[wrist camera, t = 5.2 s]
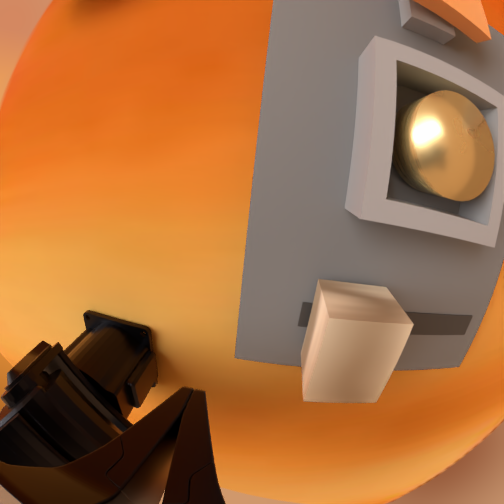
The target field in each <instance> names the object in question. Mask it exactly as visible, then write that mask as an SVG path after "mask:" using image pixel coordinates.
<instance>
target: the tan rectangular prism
mask: <svg viewBox="0 0 504 504" xmlns="http://www.w3.org/2000/svg"><path fill="white" fill-rule="evenodd" d="M413 325H414V324H413V323H412V321H411V320H410V318H409V317H408V316H407V314H406V313H405V311H404V310H403V309H402V307H401V306H400V305H399V303H398V302H397V301H396V299H395V298H394V297H393V295H392V294H391V293H390V291H389V290H388V289H387V288H386V287H382V286H374V285H365V284H357V283H348V282H340V281H332V280H324V279H318V282H317V287H316V291H315V296H314V301H313V305H312V309H311V314H310V318H309V322H308V326H307V330H306V334H305V338H304V342H303V346H302V350H301V368H302V387H303V401H307V402H327V403H376V402H377V400H378V398H379V396H380V395H381V393H382V391H383V389H384V387H385V385H386V384H387V382H388V380H389V378H390V376H391V374H392V372H393V370H394V368H395V366H396V364H397V362H398V359H399V357H400V355H401V353H402V351H403V349H404V346H405V344H406V342H407V339H408V337H409V335H410V332H411V330H412V327H413Z"/></svg>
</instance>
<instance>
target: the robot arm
mask: <svg viewBox="0 0 504 504" xmlns="http://www.w3.org/2000/svg"><path fill="white" fill-rule="evenodd" d="M83 316H84V321H85V326H86V330H85V331H84V332H83V333H82V334H81V335H80V336H79V337H78V338H77V339H76V340H75V341H74V342H73V343H72V344H71V345H69V346H68V347H67V348H66V349H65V350H64V351H63V347H62V346H61V345H60V343H59V342H57V343H56V344H55V345H53V346H51V345H49V344H48V343H46V342H45V341H42V342H40V343H39V344H38V345H37V346H36V347H35V348H34V349H33V350H31V351H30V352H29V353H28V354H27V355H26V356H25V357H24V358H23V359H22V360H21V361H19V362H18V363H17V364H16V365H15V366H14V367H13V368H12V369H11V370H10V371H9V372H8V373H7V386H6V387H5V390H6V391H5V392H4V394H3V395H2V396H1V399H2V401H3V402H4V403H5V404H6V405H5V406H4V407H3V409H2V411H1V412H0V504H159V502H160V500H161V497H162V495H163V493H164V490H165V493H164V498H163V502H162V504H225V501H224V498H223V496H222V493H221V489H220V486H219V483H218V479H217V474H216V468H215V463H214V456H213V449H212V442H211V435H210V427H209V419H208V411H207V402H206V393H205V391H203V390H198V389H195V390H194V389H193V388H189V387H182V388H180V389H179V390H178V391H177V392H175V393H174V394H173V395H172V396H170V397H169V398H168V399H167V400H165V401H164V402H163V403H162V404H160V405H159V406H158V407H156V408H155V409H154V410H152V411H151V412H150V413H149V414H147V415H146V416H145V417H143V418H142V419H141V420H139V421H138V422H137V423H135V424H134V425H133V424H132V423H130V422H129V421H128V420H127V418H128V416H129V414H130V413H131V411H132V409H133V407H135V408H139V407H141V405H142V403H143V401H144V400H145V398H146V396H147V394H148V392H149V391H150V389H151V387H155V386H156V384H157V376H158V372H157V364H156V357H155V353H154V352H153V347H152V338H151V331H150V329H149V328H148V327H146V326H143V325H139V324H135V323H131V322H127V321H124V320H120V319H116V318H113V317H109V316H106V315H103V314H99V313H96V312H93V311H90V310H87V311H86V312H85V313H84V314H83ZM143 332H145V333H146V334H145V333H143Z"/></svg>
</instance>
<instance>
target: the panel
mask: <svg viewBox="0 0 504 504" xmlns="http://www.w3.org/2000/svg"><path fill="white" fill-rule="evenodd" d="M488 27H489V31H490V35H491V40H487V41H483V42H479V43H476V42H474V41H473V40H472V39H471V38H469V37H468V36H467V35H465V34H464V33H463V32H461V31H460V30H459V29H457V28H456V27H455V26H453V25H452V24H450V23H449V22H447V21H446V20H444V19H443V18H441V17H440V16H438V15H437V14H435V13H434V12H432V11H431V10H429V9H427V8H426V7H424V6H422V5H420V4H419V3H417V2H415V1H413V0H274V1H273V9H272V17H271V25H270V33H269V42H268V50H267V59H266V67H265V76H264V84H263V93H262V102H261V110H260V119H259V128H258V137H257V146H256V155H255V164H254V174H253V183H252V192H251V201H250V211H249V220H248V230H247V239H246V249H245V259H244V269H243V278H242V288H241V298H240V308H239V318H238V329H237V339H236V349H235V358H237V359H243V360H250V361H257V362H264V363H272V364H281V365H290V366H300V367H301V350H302V346H303V342H304V338H305V334H306V330H307V326H308V322H309V318H310V314H311V309H312V305H313V301H314V296H315V291H316V287H317V282H318V279H324V280H332V281H340V282H348V283H357V284H365V285H374V286H382V287H386V288H387V289H388V290H389V291H390V293H391V294H392V295H393V297H394V298H395V299H396V301H397V302H398V303H399V305H400V306H401V307H402V309H403V310H404V311H405V313H406V314H407V316H408V317H409V318H410V320H411V321H412V323H413V324H414V325H413V327H412V330H411V332H410V335H409V337H408V339H407V342H406V344H405V346H404V349H403V351H402V353H401V355H400V357H399V359H398V362H397V364H396V366H395V368H394V370H424V369H440V368H453V367H459V366H460V364H461V362H462V361H463V359H464V357H465V355H466V353H467V351H468V349H469V347H470V345H471V343H472V341H473V339H474V337H475V335H476V333H477V331H478V328H479V326H480V324H481V322H482V319H483V317H484V315H485V312H486V310H487V307H488V305H489V302H490V299H491V297H492V294H493V291H494V288H495V286H496V283H497V280H498V277H499V273H500V270H501V267H502V263H503V260H504V35H502V34H501V33H500V32H498V31H497V30H495V29H494V28H493V27H491V26H490V25H488ZM443 90H447V91H453V92H456V93H459V94H461V95H463V96H464V97H466V98H467V99H469V100H470V101H471V102H472V103H473V104H474V105H475V106H476V107H477V108H478V109H479V111H480V112H481V114H482V115H483V117H484V118H485V120H486V122H487V124H488V127H489V129H490V132H491V135H492V139H493V144H494V153H495V160H494V168H493V173H492V176H491V179H490V181H489V183H488V185H487V187H486V188H485V189H484V191H483V192H482V193H481V194H480V195H478V196H477V197H475V198H474V199H471V200H468V201H456V200H452V199H448V198H444V197H440V196H436V195H432V194H428V193H424V192H421V191H418V190H416V189H414V188H413V187H411V186H410V185H409V184H408V183H407V182H405V181H404V179H403V178H402V177H401V176H400V174H399V173H398V171H397V170H396V168H395V166H394V164H393V161H392V152H393V142H394V130H395V115H396V113H397V112H398V110H399V109H401V108H402V107H403V106H405V105H407V104H409V103H411V102H413V101H416V100H418V99H420V98H422V97H425V96H427V95H429V94H432V93H434V92H437V91H443Z"/></svg>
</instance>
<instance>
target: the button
mask: <svg viewBox="0 0 504 504" xmlns="http://www.w3.org/2000/svg"><path fill="white" fill-rule="evenodd" d="M494 160H495V153H494V144H493V139H492V135H491V132H490V129H489V127H488V124H487V122H486V120H485V118H484V117H483V115H482V114H481V112H480V111H479V109H478V108H477V107H476V106H475V105H474V104H473V103H472V102H471V101H470V100H469V99H467V98H466V97H464V96H463V95H461V94H459V93H456V92H453V91H447V90H443V91H437V92H434V93H432V94H429V95H427V96H425V97H422V98H420V99H418V100H416V101H413V102H411V103H409V104H407V105H405V106H403V107H402V108H401V109H399V110H398V112H397V113H396V115H395V130H394V142H393V152H392V161H393V164H394V166H395V168H396V170H397V171H398V173H399V174H400V176H401V177H402V178H403V179H404V181H405V182H407V183H408V184H409V185H410V186H411V187H413V188H414V189H416V190H418V191H421V192H424V193H428V194H432V195H436V196H440V197H444V198H448V199H452V200H456V201H468V200H471V199H474V198H475V197H477V196H478V195H480V194H481V193H482V192H483V191H484V189H485V188H486V187H487V185H488V183H489V181H490V179H491V176H492V173H493V168H494Z"/></svg>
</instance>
